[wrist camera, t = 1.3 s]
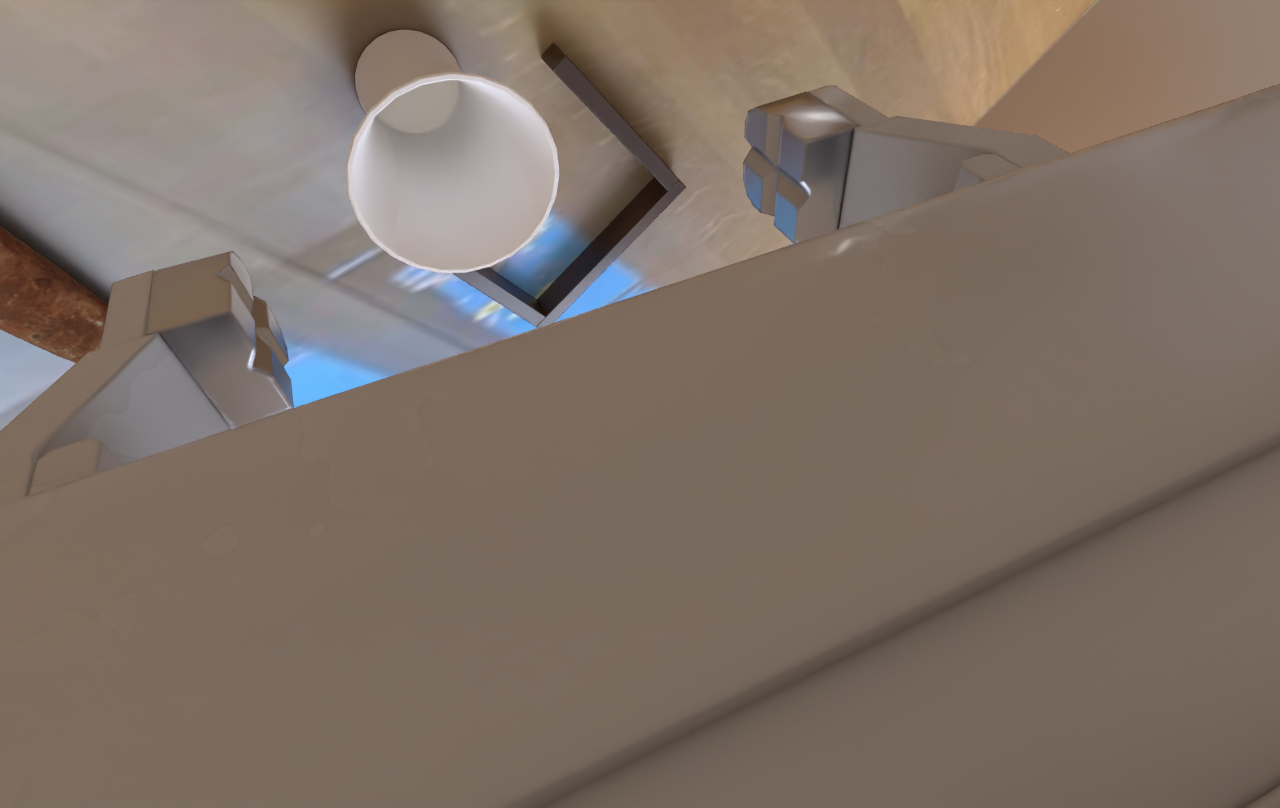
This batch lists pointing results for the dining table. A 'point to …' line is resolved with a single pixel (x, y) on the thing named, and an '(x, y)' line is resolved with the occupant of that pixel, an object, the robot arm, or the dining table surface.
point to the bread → (47, 303)
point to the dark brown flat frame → (611, 238)
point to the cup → (445, 159)
